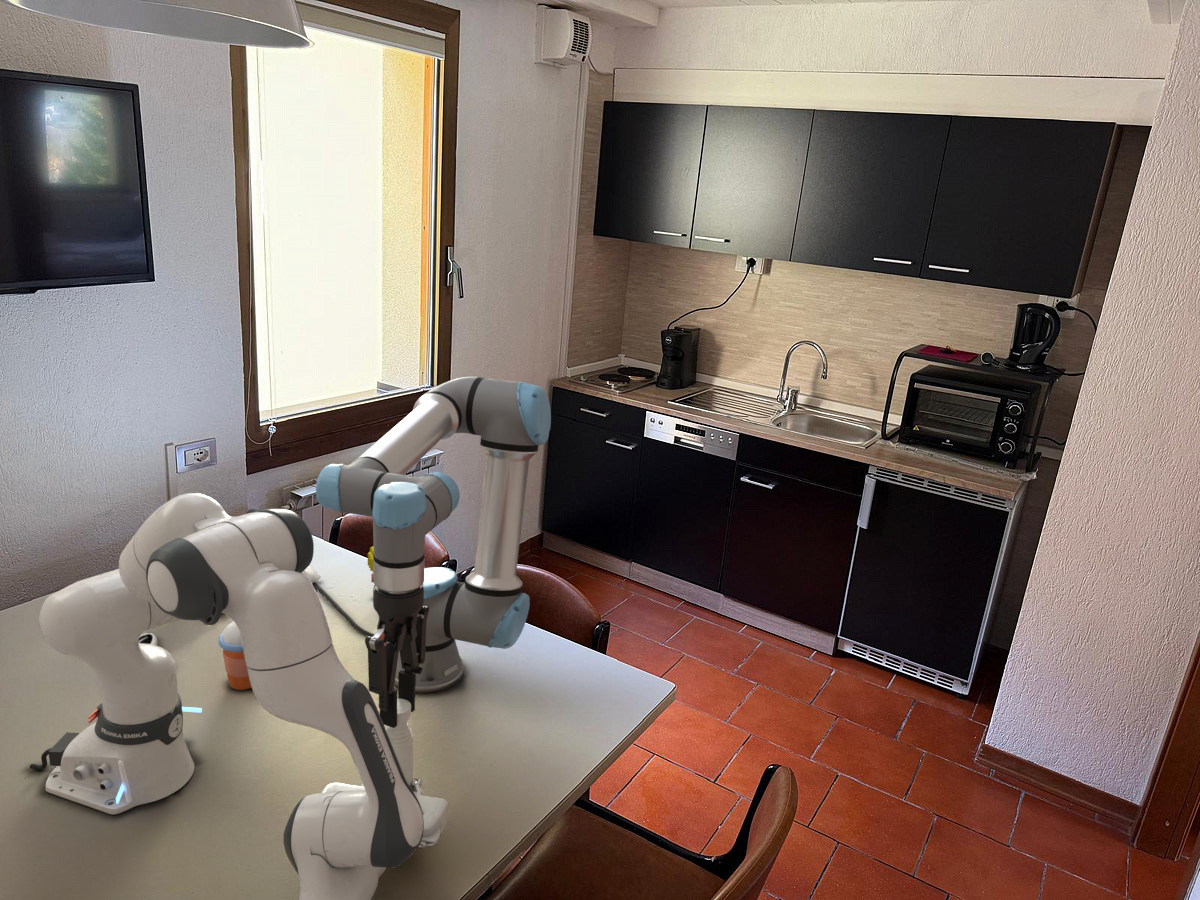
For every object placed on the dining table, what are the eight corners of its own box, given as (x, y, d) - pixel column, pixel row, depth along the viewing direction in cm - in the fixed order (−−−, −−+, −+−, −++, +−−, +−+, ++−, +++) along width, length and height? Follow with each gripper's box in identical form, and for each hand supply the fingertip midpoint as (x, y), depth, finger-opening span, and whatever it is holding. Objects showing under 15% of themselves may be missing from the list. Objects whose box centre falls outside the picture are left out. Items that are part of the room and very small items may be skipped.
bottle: (406, 800, 145) (407, 698, 139) (416, 819, 141) (418, 715, 135) (377, 809, 143) (377, 705, 137) (386, 829, 139) (387, 722, 133)
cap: (416, 712, 138) (416, 702, 137) (401, 726, 134) (401, 716, 133) (393, 705, 139) (394, 695, 138) (378, 719, 135) (378, 709, 135)
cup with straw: (252, 697, 169) (248, 616, 164) (211, 689, 171) (206, 608, 166) (278, 673, 178) (275, 596, 172) (238, 666, 179) (234, 588, 174)
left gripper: (434, 832, 126) (460, 772, 139) (302, 812, 128) (339, 754, 141) (434, 867, 128) (459, 804, 141) (303, 846, 130) (340, 786, 143)
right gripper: (411, 558, 138) (409, 683, 145) (341, 600, 123) (343, 738, 130) (450, 568, 136) (447, 696, 143) (384, 613, 121) (384, 753, 127)
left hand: (398, 779), depth 141 cm, fingers closed on bottle, 5 cm apart
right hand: (397, 716), depth 136 cm, fingers closed on cap, 4 cm apart
